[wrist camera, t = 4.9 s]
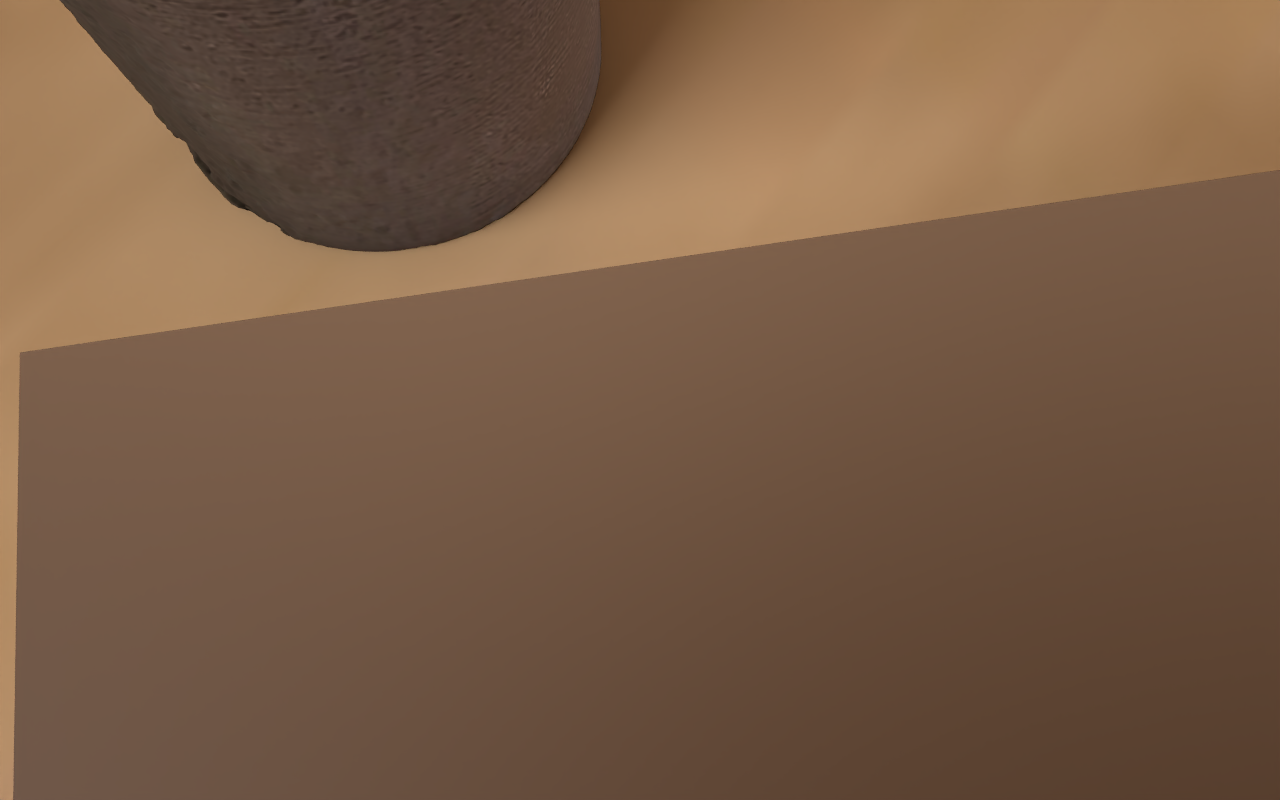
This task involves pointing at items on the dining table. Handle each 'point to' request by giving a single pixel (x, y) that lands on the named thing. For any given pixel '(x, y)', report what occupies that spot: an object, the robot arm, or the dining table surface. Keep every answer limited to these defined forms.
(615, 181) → the dining table surface
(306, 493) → the walnut post
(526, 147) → the pillar candle
